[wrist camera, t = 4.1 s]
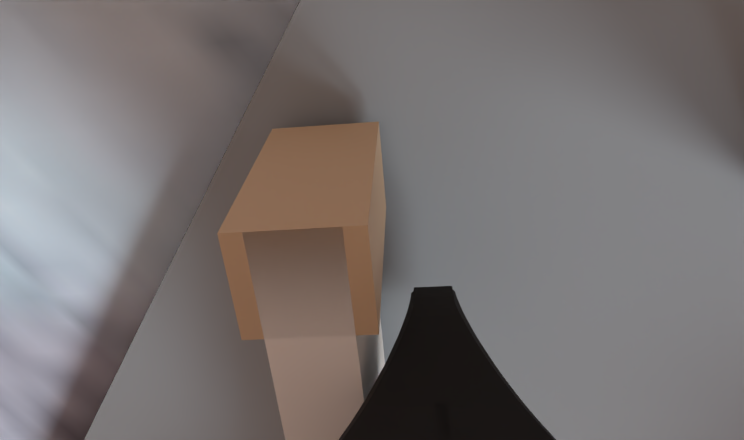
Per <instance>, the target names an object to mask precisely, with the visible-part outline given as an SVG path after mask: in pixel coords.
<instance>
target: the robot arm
mask: <svg viewBox="0 0 744 440" xmlns="http://www.w3.org/2000/svg"><path fill="white" fill-rule="evenodd" d="M339 440H556V439H555V438H554V437H553V436H552V435H551V433H550V432H549V431H548V430H547V429H546V428H545V427H544V426H543V425H542V424H541V423H540V421H539V420H538V419H537V418H536V417H535V416H534V415H533V413H532V412H531V411H530V410H529V409H528V407H527V406H526V405H525V404H524V403H523V401H522V400H521V399H520V398H519V396H518V395H517V394H516V392H515V391H514V390H513V389H512V387H511V386H510V385H509V383H508V382H507V381H506V379H505V378H504V377H503V375H502V374H501V373H500V371H499V370H498V368H497V367H496V366H495V364H494V363H493V361H492V359H491V358H490V356H489V355H488V353H487V352H486V350H485V349H484V347H483V346H482V344H481V343H480V341H479V339H478V338H477V336H476V335H475V333H474V331H473V329H472V328H471V326H470V324H469V322H468V320H467V318H466V316H465V314H464V313H463V311H462V308H461V306H460V304H459V301H458V299H457V296H456V293H455V291H454V290H453V289H452V286H435V287H414V291H413V292H412V293H411V298H410V303H409V307H408V310H407V313H406V316H405V319H404V322H403V325H402V327H401V330H400V332H399V335H398V337H397V339H396V341H395V344H394V346H393V348H392V350H391V352H390V355H389V357H388V359H387V361H386V363H385V365H384V367H383V369H382V371H381V372H380V374H379V376H378V378H377V380H376V381H375V383H374V385H373V387H372V389H371V390H370V392H369V394H368V396H367V397H366V399H365V401H364V402H363V404H362V406H361V407H360V409H359V410H358V412H357V413H356V415H355V417H354V418H353V420H352V421H351V423H350V424H349V425H348V427H347V428H346V430H345V431H344V433H343V434H342V435H341V437H340V438H339Z"/></svg>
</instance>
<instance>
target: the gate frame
mask: <svg viewBox="0 0 744 440" xmlns="http://www.w3.org/2000/svg"><path fill="white" fill-rule="evenodd" d="M365 122H379V129H380V141H381V152H382V164H383V176H384V187H385V199H386V220H385V237H384V255H383V273H382V290H381V308H380V319H381V329H382V339H383V349H384V359H385V363H386V361H387V359H388V357H389V355H390V352H391V350H392V348H393V346H394V344H395V341H396V339H397V337H398V335H399V332H400V330H401V327H402V325H403V322H404V319H405V316H406V313H407V310H408V307H409V303H410V298H411V293H412V292H413V291H414V287H435V286H452V289H453V290H454V291H455V293H456V296H457V299H458V301H459V304H460V306H461V308H462V311H463V313H464V314H465V316H466V318H467V320H468V322H469V324H470V326H471V328H472V329H473V331H474V333H475V335H476V336H477V338H478V339H479V341H480V343H481V344H482V346H483V347H484V349H485V350H486V352H487V353H488V355H489V356H490V358H491V359H492V361H493V363H494V364H495V366H496V367H497V368H498V370H499V371H500V373H501V374H502V375H503V377H504V378H505V379H506V381H507V382H508V383H509V385H510V386H511V387H512V389H513V390H514V391H515V392H516V394H517V395H518V396H519V398H520V399H521V400H522V401H523V403H524V404H525V405H526V406H527V407H528V409H529V410H530V411H531V412H532V413H533V415H534V416H535V417H536V418H537V419H538V420H539V421H540V423H541V424H542V425H543V426H544V427H545V428H546V429H547V430H548V431H549V432H550V433H551V435H552V436H553V437H554V438H555V439H556V440H744V0H300V2H299V4H298V6H297V8H296V10H295V12H294V14H293V16H292V18H291V20H290V22H289V24H288V26H287V28H286V30H285V32H284V34H283V36H282V38H281V40H280V42H279V44H278V46H277V48H276V50H275V52H274V54H273V56H272V59H271V61H270V63H269V65H268V67H267V69H266V71H265V73H264V75H263V77H262V79H261V81H260V83H259V85H258V87H257V89H256V91H255V93H254V95H253V97H252V99H251V101H250V103H249V105H248V107H247V109H246V111H245V113H244V115H243V117H242V120H241V122H240V124H239V126H238V128H237V130H236V132H235V134H234V136H233V138H232V140H231V142H230V144H229V146H228V148H227V150H226V152H225V154H224V156H223V158H222V160H221V162H220V164H219V166H218V168H217V170H216V172H215V174H214V176H213V178H212V181H211V183H210V185H209V187H208V189H207V191H206V193H205V195H204V197H203V199H202V201H201V203H200V205H199V207H198V209H197V211H196V213H195V215H194V217H193V219H192V221H191V223H190V225H189V227H188V229H187V231H186V233H185V235H184V237H183V239H182V241H181V244H180V246H179V248H178V250H177V252H176V254H175V256H174V258H173V260H172V262H171V264H170V266H169V268H168V270H167V272H166V274H165V276H164V278H163V280H162V282H161V284H160V286H159V288H158V290H157V292H156V294H155V296H154V298H153V300H152V302H151V305H150V307H149V309H148V311H147V313H146V315H145V317H144V319H143V321H142V323H141V325H140V327H139V329H138V331H137V333H136V335H135V337H134V339H133V341H132V343H131V345H130V347H129V349H128V351H127V353H126V355H125V357H124V359H123V361H122V363H121V366H120V368H119V370H118V372H117V374H116V376H115V378H114V380H113V382H112V384H111V386H110V388H109V390H108V392H107V394H106V396H105V398H104V400H103V402H102V404H101V406H100V408H99V410H98V412H97V414H96V416H95V418H94V420H93V422H92V424H91V426H90V429H89V431H88V433H87V435H86V437H85V439H84V440H285V436H284V431H283V427H282V422H281V417H280V412H279V407H278V403H277V398H276V393H275V388H274V383H273V379H272V374H271V369H270V364H269V359H268V355H267V350H266V345H265V340H264V339H257V340H242V339H241V335H240V330H239V326H238V322H237V317H236V313H235V309H234V304H233V300H232V296H231V291H230V287H229V283H228V278H227V274H226V270H225V265H224V261H223V257H222V252H221V248H220V243H219V239H218V235H217V233H218V231H219V229H220V227H221V225H222V224H223V222H224V220H225V218H226V216H227V214H228V212H229V210H230V208H231V206H232V205H233V203H234V201H235V199H236V197H237V195H238V193H239V191H240V189H241V187H242V186H243V184H244V182H245V180H246V178H247V176H248V174H249V172H250V170H251V169H252V167H253V165H254V163H255V161H256V159H257V157H258V155H259V153H260V151H261V150H262V148H263V146H264V144H265V142H266V140H267V138H268V136H269V134H270V133H271V131H272V129H277V128H291V127H306V126H321V125H335V124H350V123H365Z"/></svg>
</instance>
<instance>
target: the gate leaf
mask: <svg viewBox="0 0 744 440" xmlns="http://www.w3.org/2000/svg"><path fill="white" fill-rule="evenodd" d="M385 220H386V199H385V187H384V176H383V164H382V152H381V141H380V129H379V122H365V123H350V124H335V125H321V126H306V127H291V128H277V129H272V131H271V133H270V134H269V136H268V138H267V140H266V142H265V144H264V146H263V148H262V150H261V151H260V153H259V155H258V157H257V159H256V161H255V163H254V165H253V167H252V169H251V170H250V172H249V174H248V176H247V178H246V180H245V182H244V184H243V186H242V187H241V189H240V191H239V193H238V195H237V197H236V199H235V201H234V203H233V205H232V206H231V208H230V210H229V212H228V214H227V216H226V218H225V220H224V222H223V224H222V225H221V227H220V229H219V231H218V233H217V235H218V239H219V243H220V248H221V252H222V257H223V261H224V265H225V270H226V274H227V278H228V283H229V287H230V291H231V296H232V300H233V304H234V309H235V313H236V317H237V322H238V326H239V330H240V335H241V339H242V340H257V339H264V340H265V345H266V350H267V355H268V359H269V364H270V369H271V374H272V379H273V383H274V388H275V393H276V398H277V403H278V407H279V412H280V417H281V422H282V427H283V431H284V436H285V440H339V438H340V437H341V435H342V434H343V433H344V431H345V430H346V428H347V427H348V425H349V424H350V423H351V421H352V420H353V418H354V417H355V415H356V413H357V412H358V410H359V409H360V407H361V406H362V404H363V402H364V401H365V399H366V397H367V396H368V394H369V392H370V390H371V389H372V387H373V385H374V383H375V381H376V380H377V378H378V376H379V374H380V372H381V371H382V369H383V367H384V365H385V359H384V349H383V339H382V329H381V319H380V308H381V290H382V273H383V255H384V237H385Z"/></svg>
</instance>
